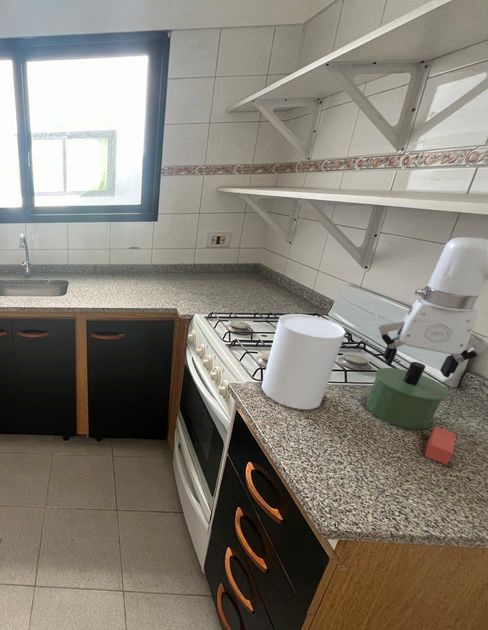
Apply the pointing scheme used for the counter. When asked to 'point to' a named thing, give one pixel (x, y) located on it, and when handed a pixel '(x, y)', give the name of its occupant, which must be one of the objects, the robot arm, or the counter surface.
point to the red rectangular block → (440, 445)
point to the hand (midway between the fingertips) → (415, 367)
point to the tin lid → (411, 382)
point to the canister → (301, 360)
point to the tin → (400, 407)
